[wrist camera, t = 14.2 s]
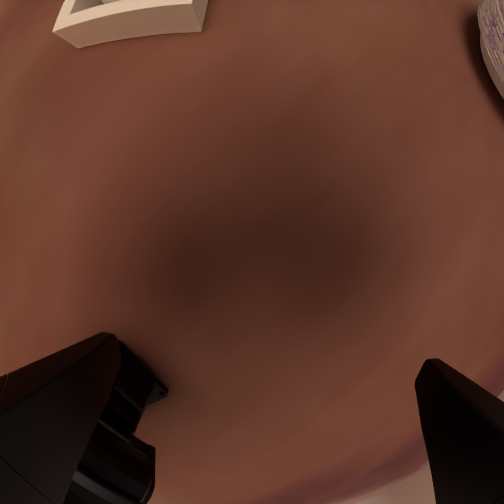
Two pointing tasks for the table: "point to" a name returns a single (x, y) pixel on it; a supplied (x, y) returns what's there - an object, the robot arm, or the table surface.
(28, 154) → the table surface
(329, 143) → the table surface
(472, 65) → the table surface
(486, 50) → the paper bowls
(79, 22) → the collar
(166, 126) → the table surface
